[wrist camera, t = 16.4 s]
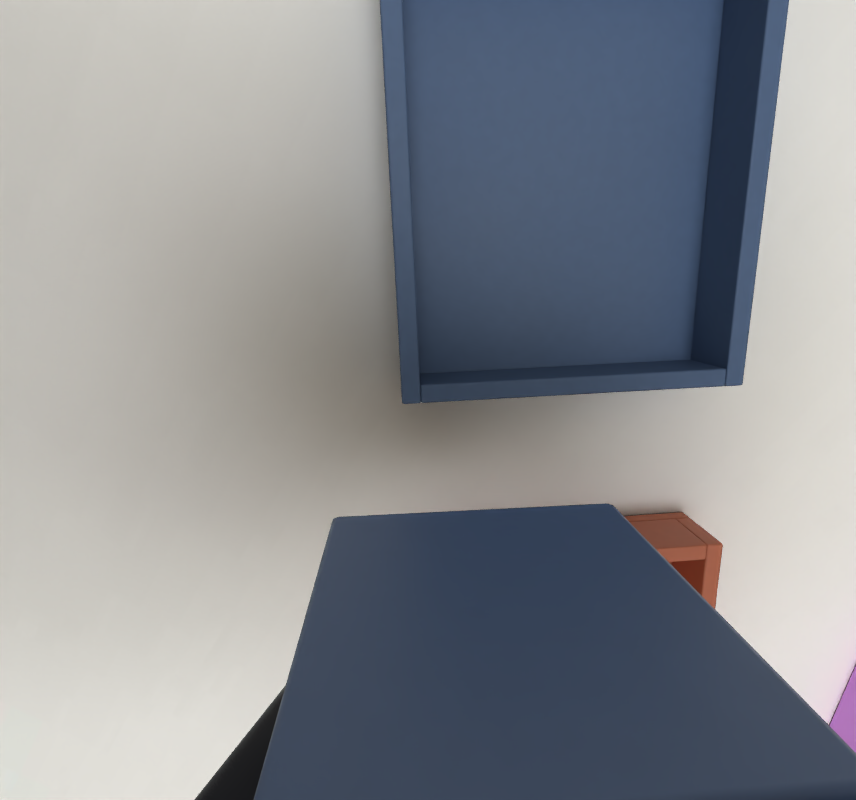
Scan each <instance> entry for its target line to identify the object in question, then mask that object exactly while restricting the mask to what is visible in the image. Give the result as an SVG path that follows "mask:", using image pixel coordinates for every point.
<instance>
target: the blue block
mask: <svg viewBox="0 0 856 800" xmlns="http://www.w3.org/2000/svg"><path fill="white" fill-rule="evenodd" d="M254 800H856V753H855V752H854V751H853V750H852V749H851V748H850V747H849V745H848V744H847V743H846V742H845V741H844V740H843V739H842V738H841V737H840V736H839V735H838V734H837V733H836V732H835V731H834V730H833V729H832V728H831V727H830V726H829V725H828V724H827V723H826V722H825V721H824V720H823V719H822V718H821V717H820V716H819V715H818V714H817V713H816V712H815V711H814V710H813V709H812V708H811V707H810V706H809V705H808V704H807V703H806V702H805V701H804V700H803V699H802V698H801V697H800V696H799V695H798V694H797V692H796V691H795V690H794V689H793V688H792V687H791V686H790V685H789V684H788V683H787V682H786V681H785V680H784V679H783V678H782V677H781V676H780V675H779V674H778V673H777V672H776V671H775V670H774V669H773V668H772V667H771V666H770V665H769V664H768V663H767V662H766V661H765V660H764V659H763V658H762V657H761V656H760V655H759V654H758V653H757V652H756V651H755V650H754V649H753V648H752V647H751V646H750V645H749V644H748V643H747V642H746V641H745V639H744V638H743V637H742V636H741V635H740V634H739V633H738V632H737V631H736V630H735V629H734V628H733V627H732V626H731V625H730V624H729V623H728V622H727V621H726V620H725V619H724V618H723V617H722V616H721V615H720V614H719V613H718V612H717V611H716V610H715V609H714V608H713V607H712V606H711V605H710V604H709V603H708V602H707V601H706V600H705V599H704V598H703V597H702V596H701V595H700V594H699V593H698V592H697V591H696V590H695V589H694V588H693V586H692V585H691V584H690V583H689V582H688V581H687V580H686V579H685V578H684V577H683V576H682V575H681V574H680V573H679V572H678V571H677V570H676V569H675V568H674V567H673V566H672V565H671V564H670V563H669V562H668V561H667V560H666V559H665V558H664V557H663V556H662V555H661V554H660V553H659V552H658V551H657V550H656V549H655V548H654V547H653V546H652V545H651V544H650V543H649V542H648V541H647V540H646V539H645V538H644V537H643V536H642V535H641V533H640V532H639V531H638V530H637V529H636V528H635V527H634V526H633V525H632V524H631V523H630V522H629V521H628V520H627V519H626V518H625V517H624V516H623V515H622V514H621V513H620V512H619V511H618V510H617V509H616V508H615V507H614V506H613V505H610V504H588V505H568V506H548V507H528V508H508V509H488V510H468V511H448V512H428V513H408V514H388V515H367V516H347V517H337V518H334V519H333V521H332V524H331V527H330V531H329V535H328V538H327V542H326V545H325V549H324V552H323V556H322V559H321V563H320V566H319V570H318V573H317V577H316V581H315V584H314V588H313V591H312V595H311V598H310V602H309V605H308V609H307V612H306V616H305V619H304V623H303V627H302V630H301V634H300V637H299V641H298V644H297V648H296V651H295V655H294V658H293V662H292V665H291V669H290V673H289V676H288V680H287V683H286V687H285V690H284V694H283V697H282V701H281V704H280V708H279V711H278V715H277V719H276V722H275V726H274V729H273V733H272V736H271V740H270V743H269V747H268V750H267V754H266V757H265V761H264V765H263V768H262V772H261V775H260V779H259V782H258V786H257V789H256V793H255V796H254Z"/></svg>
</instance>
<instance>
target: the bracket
mask: <svg viewBox="0 0 856 800" xmlns="http://www.w3.org/2000/svg"><path fill="white" fill-rule="evenodd" d="M830 727H831V728H832V729H833V730H834V731H835V732H836V733H837V734H838V735H839V736H840V737H841V738H842V739H843V740H844V741H845V742H846V743H847V744H848V745H849V747H850V748H851V749H852V750H853V751H854V752H855V753H856V666H855V668H854V671H853V673H852V675H851V678H850V680H849V682H848V684H847V687H846V689H845V691H844V694H843V696H842V698H841V700H840V703H839V705H838V707H837V710H836V712H835V714H834V716H833V719H832V721H831V723H830Z"/></svg>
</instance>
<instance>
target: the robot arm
mask: <svg viewBox="0 0 856 800" xmlns="http://www.w3.org/2000/svg"><path fill="white" fill-rule="evenodd" d="M285 687H286V686H285ZM285 687H284V688H283V689H282V691H281V692H280V693H279V694H278V696H277V697H276V698H275V699H274V701H273V702H272V703H271V704H270V706H269V707H268V708H267V709H266V711H265V712H264V713H263V714H262V716H261V717H260V718H259V720H258V721H257V722H256V723H255V725H254V726H253V727H252V728H251V730H250V731H249V732H248V733H247V735H246V736H245V737H244V738H243V740H242V741H241V742H240V743H239V745H238V746H237V747H236V748H235V750H234V751H233V752H232V753H231V755H230V756H229V757H228V758H227V760H226V761H225V762H224V763H223V765H222V766H221V767H220V768H219V770H218V771H217V772H216V773H215V775H214V776H213V777H212V779H211V780H210V781H209V782H208V784H207V785H206V786H205V787H204V789H203V790H202V791H201V792H200V794H199V795H198V796H197V797H196V799H195V800H254V796H255V793H256V789H257V786H258V782H259V779H260V775H261V772H262V768H263V765H264V761H265V757H266V754H267V750H268V747H269V743H270V740H271V736H272V733H273V729H274V726H275V722H276V719H277V715H278V711H279V708H280V704H281V701H282V697H283V694H284V690H285Z"/></svg>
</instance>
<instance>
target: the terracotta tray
mask: <svg viewBox="0 0 856 800" xmlns="http://www.w3.org/2000/svg"><path fill="white" fill-rule="evenodd" d="M624 517H625V518H626V519H627V520H628V521H629V522H630V523H631V524H632V525H633V526H634V527H635V528H636V529H637V530H638V531H639V532H640V533H641V535H642V536H643V537H644V538H645V539H646V540H647V541H648V542H649V543H650V544H651V545H652V546H653V547H654V548H655V549H656V550H657V551H658V552H659V553H660V554H661V555H662V556H663V557H664V558H665V559H666V560H667V561H668V562H669V563H670V564H671V565H672V566H673V567H674V568H675V569H676V570H677V571H678V572H679V573H680V574H681V575H682V576H683V577H684V578H685V579H686V580H687V581H688V582H689V583H690V584H691V585H692V586H693V588H694V589H695V590H696V591H697V592H698V593H699V594H700V595H701V596H702V597H703V598H704V599H705V600H706V601H707V602H708V603H709V604H710V605H711V606H712V607H713V608H714V609H715V604H716V596H717V588H718V580H719V571H720V563H721V555H722V547H723V545H722V543H721V542H719V541H718V540H717V539H716V538H714V537H713V536H712V535H710V534H709V533H708V532H707V531H705V530H704V529H703V528H702V527H700V526H699V525H698V524H697V523H695V522H694V521H693V520H692V519H690V518H689V517H688V516H687V515H685V514H684V513H683V512H677V513H662V514H648V515H634V516H624Z"/></svg>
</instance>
